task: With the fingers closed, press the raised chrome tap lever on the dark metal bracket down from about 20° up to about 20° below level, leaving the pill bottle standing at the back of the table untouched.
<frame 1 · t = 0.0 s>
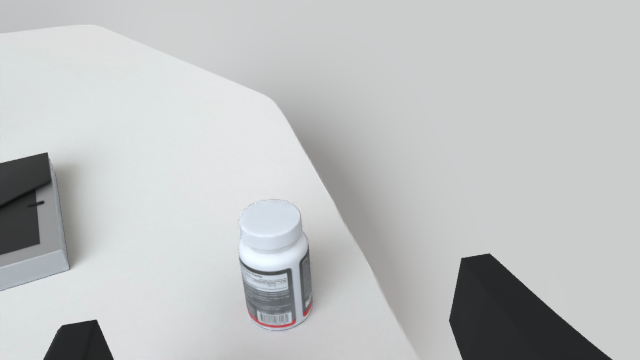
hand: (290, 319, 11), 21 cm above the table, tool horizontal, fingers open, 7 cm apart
pill bottle: (280, 309, 40), on the table
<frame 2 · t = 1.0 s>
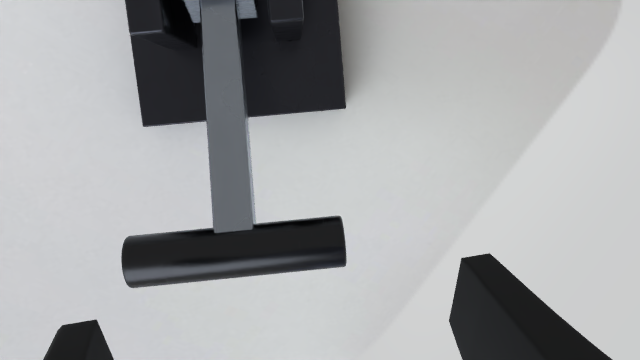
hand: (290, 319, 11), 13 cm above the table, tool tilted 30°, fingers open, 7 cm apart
tap lever: (225, 88, 16), point 6 cm above the table, hinge at 20.0°
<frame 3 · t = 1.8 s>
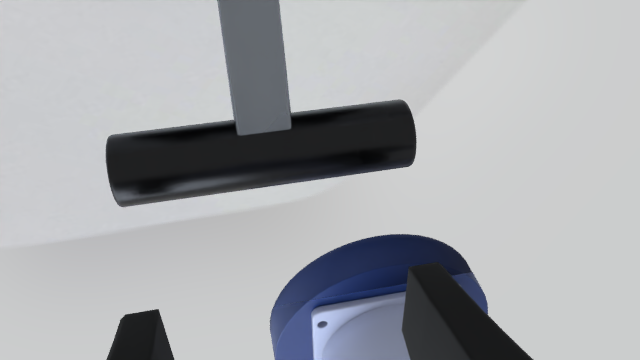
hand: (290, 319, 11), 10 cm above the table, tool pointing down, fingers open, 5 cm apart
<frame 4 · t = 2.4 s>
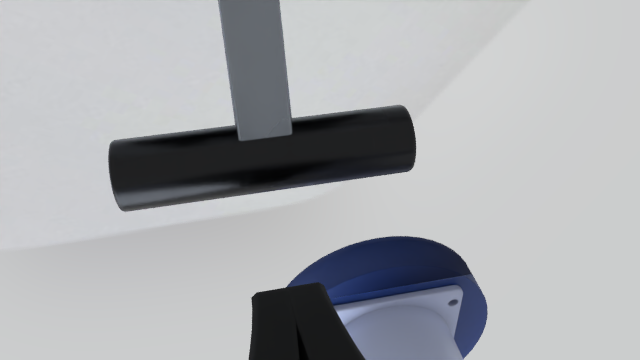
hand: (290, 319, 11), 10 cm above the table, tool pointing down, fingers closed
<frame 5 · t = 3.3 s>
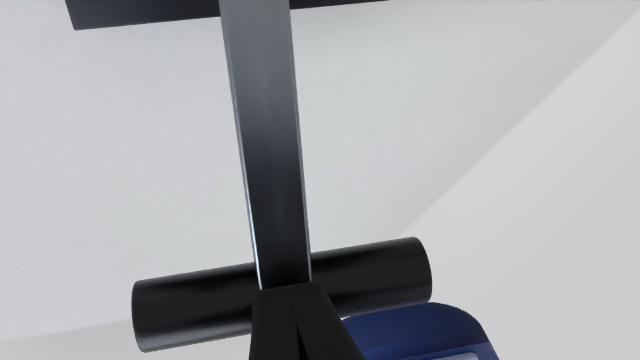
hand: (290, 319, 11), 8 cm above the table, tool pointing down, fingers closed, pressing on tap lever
tap lever: (259, 64, 10), point 6 cm above the table, hinge at 12.8°, touching gripper
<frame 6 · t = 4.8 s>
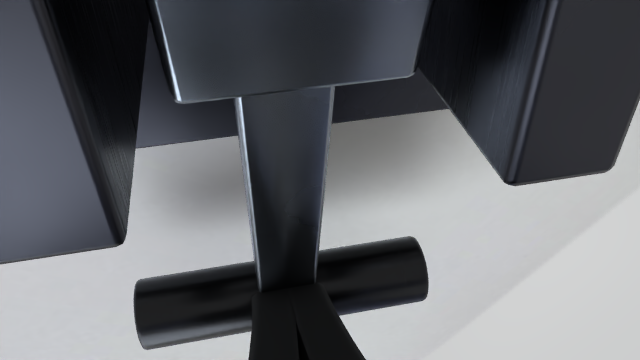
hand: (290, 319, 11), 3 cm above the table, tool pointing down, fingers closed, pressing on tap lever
tap lever: (281, 162, 8), point 4 cm above the table, hinge at -19.2°, touching gripper
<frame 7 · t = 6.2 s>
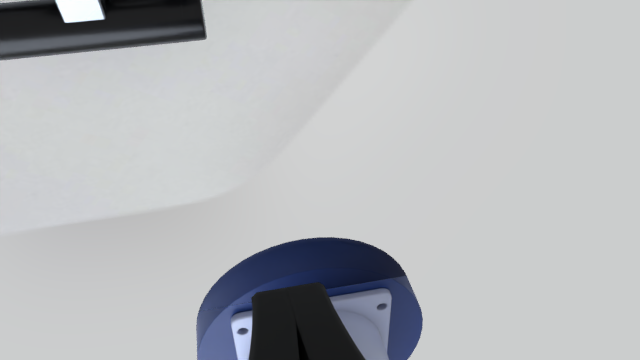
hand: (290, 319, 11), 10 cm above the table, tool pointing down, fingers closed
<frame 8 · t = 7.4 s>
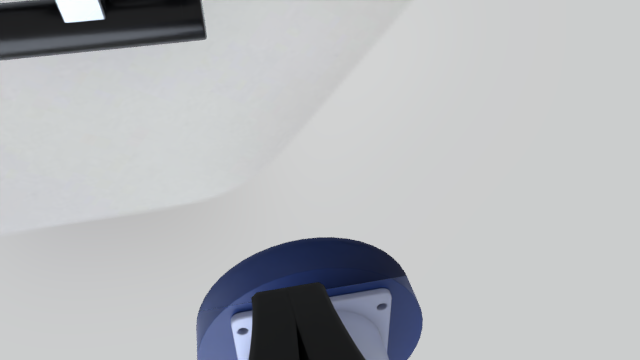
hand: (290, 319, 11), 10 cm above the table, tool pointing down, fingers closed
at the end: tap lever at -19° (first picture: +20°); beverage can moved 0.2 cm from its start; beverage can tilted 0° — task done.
